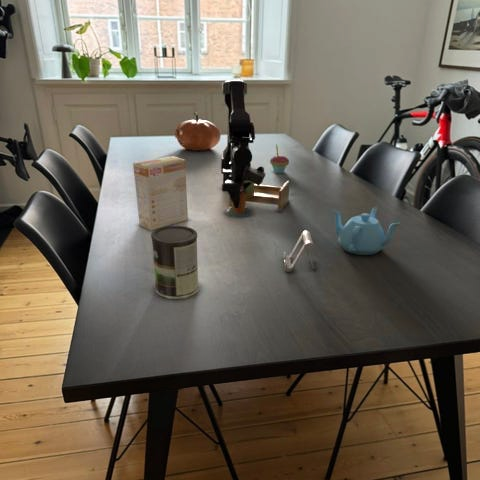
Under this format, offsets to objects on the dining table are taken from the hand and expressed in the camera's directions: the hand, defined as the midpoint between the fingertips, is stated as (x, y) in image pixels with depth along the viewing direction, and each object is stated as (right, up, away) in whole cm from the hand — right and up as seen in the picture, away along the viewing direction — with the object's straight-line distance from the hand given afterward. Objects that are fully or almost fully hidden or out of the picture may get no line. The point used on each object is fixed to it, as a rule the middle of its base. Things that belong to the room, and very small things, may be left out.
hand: (238, 206), depth 158 cm
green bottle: (+3, +7, +10) cm, 13 cm away
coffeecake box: (-24, -7, -8) cm, 27 cm away
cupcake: (+18, +27, +52) cm, 61 cm away
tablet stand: (+16, -24, -35) cm, 45 cm away
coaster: (0, -2, +1) cm, 3 cm away
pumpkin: (-23, +52, +92) cm, 108 cm away
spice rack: (+8, +3, +11) cm, 14 cm away
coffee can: (-15, -31, -48) cm, 59 cm away
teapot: (+36, -18, -23) cm, 46 cm away
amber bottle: (0, -1, +1) cm, 2 cm away
